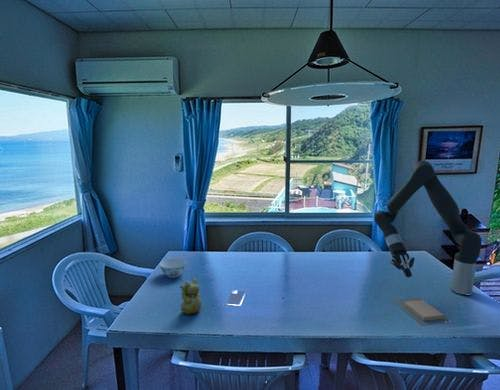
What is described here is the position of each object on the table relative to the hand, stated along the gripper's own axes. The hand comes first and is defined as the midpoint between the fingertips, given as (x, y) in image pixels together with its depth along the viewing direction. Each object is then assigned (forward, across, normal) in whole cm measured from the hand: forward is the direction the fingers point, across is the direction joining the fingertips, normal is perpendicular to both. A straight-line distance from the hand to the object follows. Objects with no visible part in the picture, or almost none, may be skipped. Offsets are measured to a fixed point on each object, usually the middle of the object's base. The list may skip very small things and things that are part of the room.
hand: (409, 276), depth 150 cm
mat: (+16, -1, +2) cm, 16 cm away
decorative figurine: (+3, -105, +12) cm, 105 cm away
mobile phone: (-3, -83, +19) cm, 86 cm away
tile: (+11, -1, +4) cm, 12 cm away
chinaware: (-26, -116, +41) cm, 126 cm away
